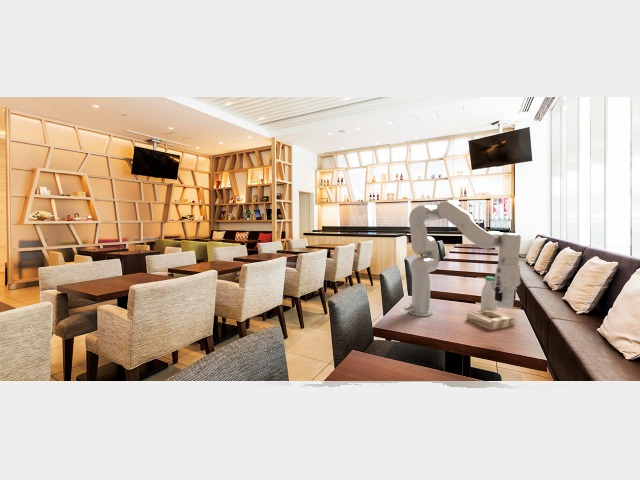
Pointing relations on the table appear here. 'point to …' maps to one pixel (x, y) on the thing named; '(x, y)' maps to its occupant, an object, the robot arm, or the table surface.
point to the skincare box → (507, 297)
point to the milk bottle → (488, 295)
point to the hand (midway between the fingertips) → (504, 299)
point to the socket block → (490, 319)
